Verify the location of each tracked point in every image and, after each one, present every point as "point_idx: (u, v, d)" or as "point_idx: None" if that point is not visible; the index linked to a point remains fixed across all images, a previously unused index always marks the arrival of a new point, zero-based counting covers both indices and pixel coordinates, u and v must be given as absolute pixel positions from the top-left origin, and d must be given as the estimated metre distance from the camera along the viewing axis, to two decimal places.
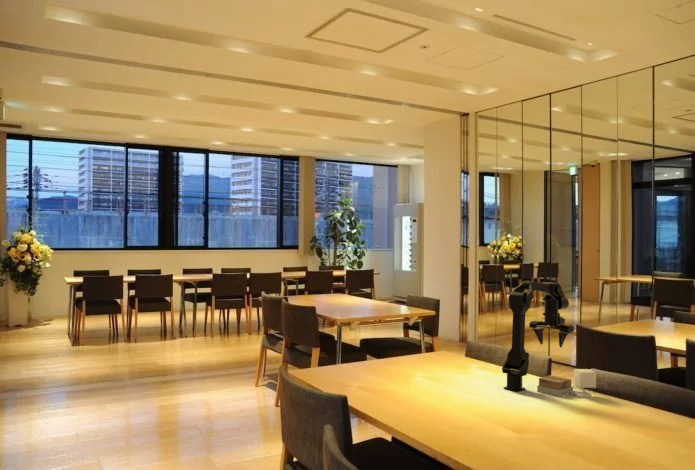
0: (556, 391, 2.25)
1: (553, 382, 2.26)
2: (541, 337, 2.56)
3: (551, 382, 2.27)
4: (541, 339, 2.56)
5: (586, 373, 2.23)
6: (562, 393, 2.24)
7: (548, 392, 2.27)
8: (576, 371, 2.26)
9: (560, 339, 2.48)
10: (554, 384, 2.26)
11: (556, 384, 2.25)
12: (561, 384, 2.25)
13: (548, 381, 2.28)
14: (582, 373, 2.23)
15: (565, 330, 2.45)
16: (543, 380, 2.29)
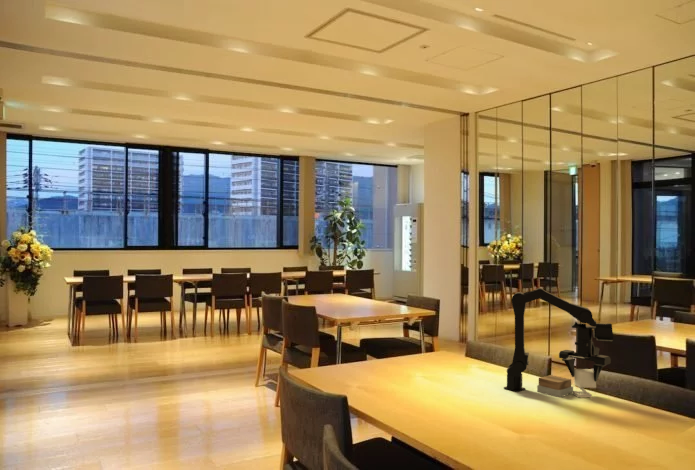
0: (556, 391, 2.25)
1: (552, 382, 2.26)
2: (572, 369, 2.29)
3: (550, 382, 2.27)
4: (573, 371, 2.29)
5: (586, 373, 2.23)
6: (562, 393, 2.24)
7: (548, 392, 2.27)
8: (576, 371, 2.26)
9: (595, 372, 2.20)
10: (553, 384, 2.26)
11: (555, 384, 2.25)
12: (561, 384, 2.25)
13: (547, 381, 2.28)
14: (582, 373, 2.23)
15: (601, 362, 2.17)
16: (543, 380, 2.30)
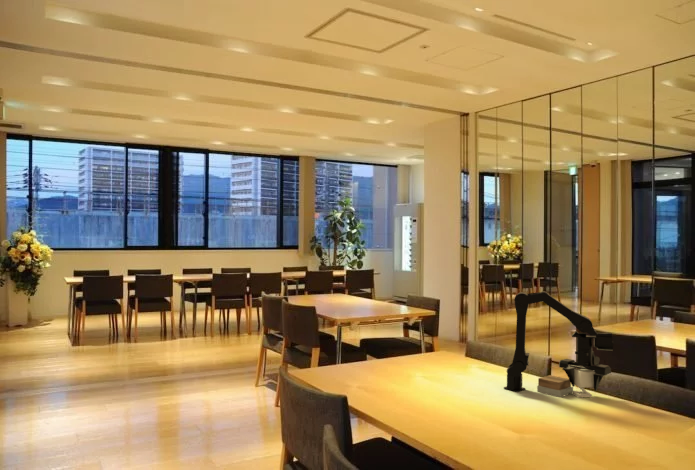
0: (556, 391, 2.25)
1: (552, 382, 2.27)
2: (573, 378, 2.29)
3: (550, 382, 2.27)
4: (573, 380, 2.29)
5: (586, 373, 2.23)
6: (562, 393, 2.24)
7: (548, 392, 2.27)
8: (576, 371, 2.27)
9: (595, 382, 2.20)
10: (553, 384, 2.26)
11: (555, 384, 2.25)
12: (561, 384, 2.25)
13: (547, 381, 2.28)
14: (582, 373, 2.23)
15: (601, 372, 2.17)
16: (542, 380, 2.30)
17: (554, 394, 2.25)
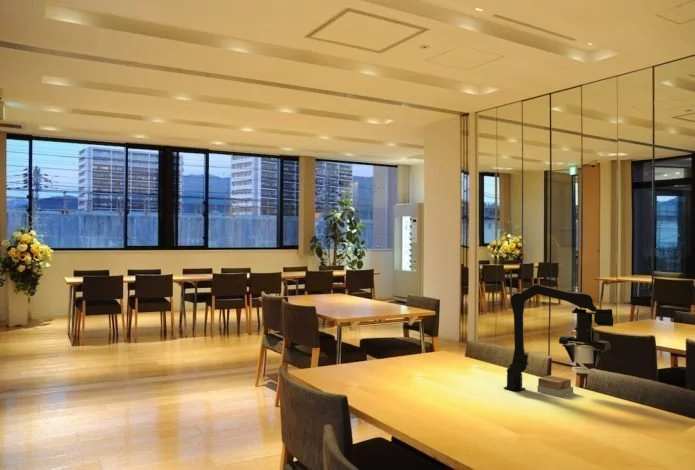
0: (556, 391, 2.24)
1: (552, 382, 2.26)
2: (573, 354, 2.29)
3: (550, 382, 2.27)
4: (573, 357, 2.29)
5: (586, 349, 2.23)
6: (562, 393, 2.24)
7: (548, 392, 2.27)
8: (576, 347, 2.27)
9: (595, 357, 2.20)
10: (553, 384, 2.26)
11: (555, 384, 2.25)
12: (561, 384, 2.25)
13: (547, 381, 2.28)
14: (582, 349, 2.23)
15: (601, 347, 2.17)
16: (542, 380, 2.30)
17: (554, 394, 2.25)
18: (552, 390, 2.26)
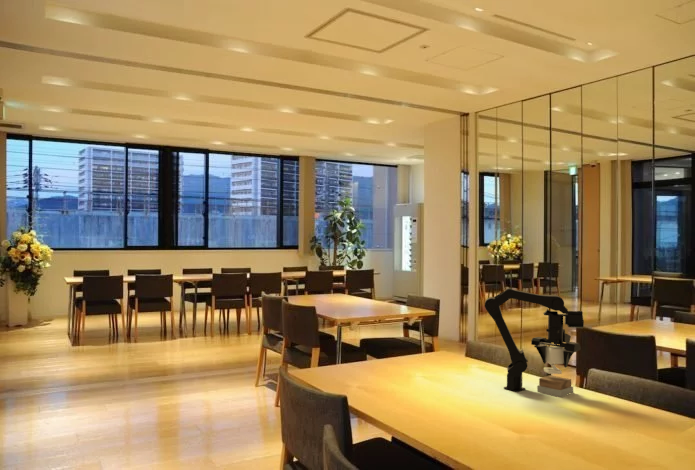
0: (556, 391, 2.24)
1: (554, 382, 2.26)
2: (544, 355, 2.34)
3: (552, 382, 2.27)
4: (544, 358, 2.34)
5: (557, 350, 2.28)
6: (562, 393, 2.24)
7: (548, 392, 2.27)
8: (547, 348, 2.32)
9: (565, 358, 2.25)
10: (555, 384, 2.26)
11: (557, 384, 2.25)
12: (562, 384, 2.25)
13: (548, 381, 2.28)
14: (553, 350, 2.28)
15: (571, 349, 2.22)
16: (543, 380, 2.29)
17: (554, 394, 2.25)
18: (552, 390, 2.26)
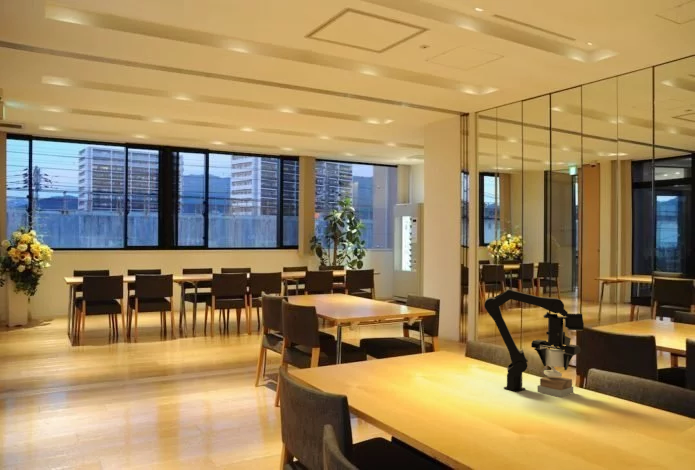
0: (556, 391, 2.24)
1: (555, 382, 2.26)
2: (544, 358, 2.34)
3: (553, 382, 2.26)
4: (544, 360, 2.34)
5: (557, 352, 2.28)
6: (562, 393, 2.24)
7: (548, 392, 2.27)
8: (547, 351, 2.32)
9: (565, 361, 2.25)
10: (556, 384, 2.25)
11: (558, 384, 2.25)
12: (563, 384, 2.25)
13: (550, 381, 2.27)
14: (553, 352, 2.28)
15: (571, 351, 2.22)
16: (544, 380, 2.29)
17: (554, 394, 2.25)
18: (552, 390, 2.26)
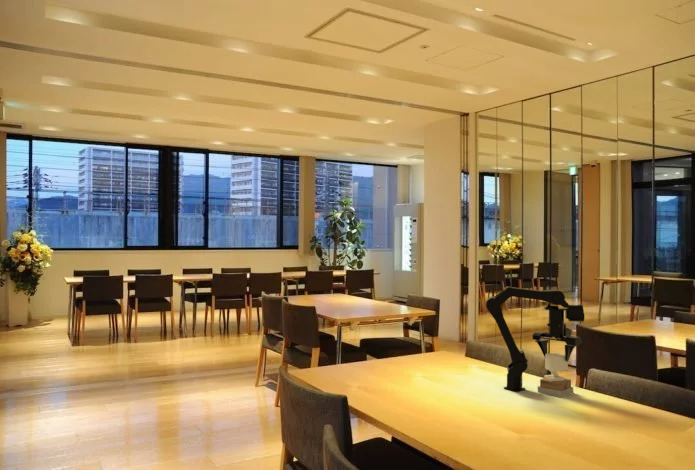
0: (557, 392, 2.24)
1: (555, 383, 2.25)
2: (545, 350, 2.34)
3: (553, 383, 2.26)
4: (545, 352, 2.34)
5: (559, 357, 2.27)
6: (563, 394, 2.24)
7: (549, 393, 2.27)
8: (548, 355, 2.30)
9: (566, 352, 2.25)
10: (556, 385, 2.25)
11: (559, 385, 2.24)
12: (564, 384, 2.25)
13: (550, 382, 2.27)
14: (556, 357, 2.27)
15: (572, 343, 2.23)
16: (545, 381, 2.28)
17: (555, 395, 2.25)
18: (552, 391, 2.25)
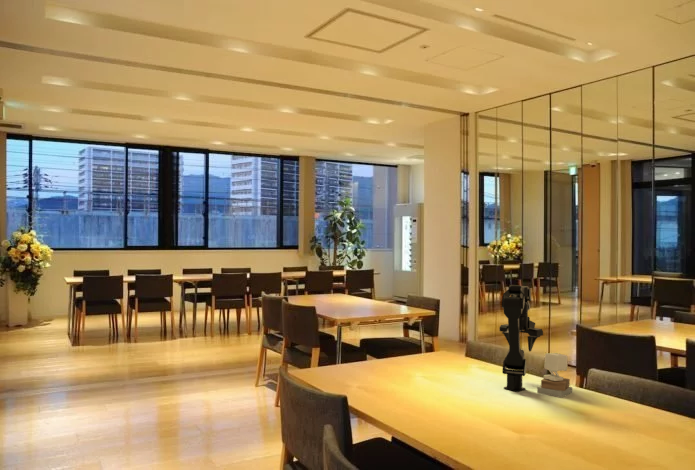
0: (557, 392, 2.24)
1: (557, 383, 2.25)
2: None
3: (555, 383, 2.26)
4: None
5: (561, 356, 2.28)
6: (563, 394, 2.24)
7: (548, 393, 2.26)
8: (549, 355, 2.30)
9: (529, 343, 2.46)
10: (558, 385, 2.25)
11: (561, 385, 2.25)
12: (565, 384, 2.25)
13: (551, 383, 2.27)
14: (559, 357, 2.27)
15: (534, 334, 2.43)
16: (546, 382, 2.28)
17: (555, 395, 2.25)
18: (552, 391, 2.25)
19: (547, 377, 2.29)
